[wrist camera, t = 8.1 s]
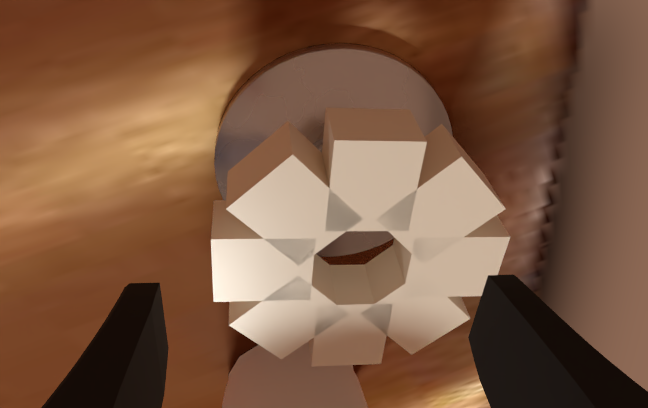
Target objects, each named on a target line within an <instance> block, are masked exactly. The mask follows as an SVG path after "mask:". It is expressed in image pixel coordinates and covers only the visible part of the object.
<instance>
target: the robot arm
mask: <svg viewBox="0 0 648 408" xmlns="http://www.w3.org/2000/svg"><path fill="white" fill-rule="evenodd" d="M469 341H470V345H471V349H472V353H473V357H474V361H475V365H476V368H477V372H478V375H479V379H480V381H481V384H482V386H483V389H484V391H485V394H486V396H487V399H488V401H489V404H490V406H491V408H648V392H647V391H646V390H645V389H643V388H642V387H641V386H639V385H638V384H637V383H635V382H634V381H633V380H632V379H631V378H629V377H628V376H627V375H626V374H624V373H623V372H622V371H621V370H620V369H618V368H617V367H616V366H615V365H613V364H612V363H611V362H610V361H609V360H607V359H606V358H605V357H604V356H603V355H602V354H600V353H599V352H598V351H597V350H596V349H594V348H593V347H592V346H591V345H590V344H589V343H588V342H587V341H585V340H584V339H583V338H582V337H581V336H580V335H579V334H578V333H576V332H575V331H574V330H573V329H572V328H571V327H570V326H569V325H568V324H567V323H565V322H564V321H563V320H562V319H561V318H560V317H559V316H558V315H557V314H556V313H555V312H554V311H552V309H550V308H549V307H548V306H547V305H546V304H545V303H544V302H543V301H542V300H541V299H540V298H539V297H538V296H537V295H536V294H535V293H533V292H532V291H531V290H530V289H529V288H528V287H527V286H526V285H525V284H524V283H523V282H522V281H520V280H519V279H518V278H517V277H516V276H515V275H488V277H487V280H486V284H485V287H484V290H483V293H482V296H481V299H480V303H479V306H478V309H477V312H476V315H475V318H474V322H473V325H472V328H471V331H470V334H469ZM167 358H168V342H167V335H166V327H165V320H164V312H163V305H162V297H161V290H160V283H130V284H128V285H127V286H126V287H125V288H124V290H123V292H122V293H121V295H120V297H119V299H118V300H117V302H116V304H115V305H114V307H113V309H112V310H111V312H110V314H109V315H108V317H107V318H106V320H105V322H104V323H103V325H102V326H101V328H100V329H99V331H98V332H97V334H96V335H95V337H94V338H93V340H92V341H91V343H90V344H89V345H88V347H87V348H86V350H85V351H84V353H83V354H82V355H81V357H80V358H79V360H78V361H77V363H76V364H75V365H74V367H73V368H72V369H71V371H70V372H69V373H68V375H67V376H66V377H65V378H64V380H63V381H62V382H61V384H60V385H59V386H58V387H57V389H56V390H55V391H54V393H53V394H52V395H51V396H50V398H49V399H48V400H47V401H46V403H45V404H44V405H43V406H42V408H161V407H162V402H163V397H164V390H165V380H166V369H167Z"/></svg>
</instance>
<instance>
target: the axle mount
mask: <svg viewBox="0 0 648 408" xmlns="http://www.w3.org/2000/svg"><path fill="white" fill-rule="evenodd" d="M326 108H367V109H409V110H411V112H412V114H413V116H414V118H415V120H416V122H417V124H418V126H419V128H420V129H421V131H422V133H423V135H424V137H425V136H426V135H428V134H429V133H430V132H432V131H433V130H434V129H436V128H437V127H438V126H440V125H441V124H443V126H444V127H445V128H446V129H447V130H448V132H449V133H450V134H451V135H452V128H451V124H450V121H449V117H448V114H447V112H446V110H445V108H444V105H443V103H442V101H441V100H440V98H439V97H438V95H437V94H436V92H435V91H434V89H433V88H432V86H431V85H430V83H429V82H428V81H427V80H426V79H425V78H424V77H423V76H422V75H421V74H420V72H418V71H417V70H416V69H415V68H413V67H412V66H411V65H410V64H408V63H407V62H405V61H403V60H402V59H400V58H398V57H396V56H395V55H393V54H390V53H388V52H385V51H383V50H380V49H377V48H373V47H369V46H364V45H358V44H348V43H335V44H323V45H317V46H311V47H307V48H304V49H300V50H297V51H294V52H291V53H289V54H287V55H285V56H282V57H280V58H278V59H276V60H275V61H273V62H271V63H269V64H268V65H266V66H264V67H263V68H262V69H261V70H259V71H258V72H257V73H255V74H254V75H253V76H252V77H251V78H250V79H249V80H248V81H247V82H246V83H245V84H244V85H243V86H242V87H241V88H240V89H239V90H238V92H237V93H236V95H235V96H234V97H233V99H232V100H231V101H230V103H229V105H228V107H227V109H226V111H225V113H224V114H223V117H222V120H221V123H220V126H219V128H218V134H217V139H216V146H215V164H214V165H215V174H216V180H217V183H218V187H219V191H220V193H221V195H222V198H223V200H226V195H227V176H228V171H229V170H230V169H231V168H233V167H234V166H235V165H236V164H237V163H239V162H240V161H241V160H242V159H243V158H245V157H246V156H247V155H248V154H249V153H250V152H252V151H253V150H254V149H255V148H256V147H258V146H259V145H260V144H261V143H262V142H263V141H265V140H266V139H267V138H268V137H269V136H271V135H272V134H273V133H274V132H275V131H276V130H278V129H279V128H280V127H281V126H282V125H284V124H285V123H286V122H287V121H289V122H290V123H291V124H292V125H293V126H295V127H296V128H297V129H298V130H299V131H300V132H301V133H302V134H303V135H304V136H305V137H306V138H307V139H308V140H309V141H310V142H311V143H312V144H313V145H314V146H315V147H316V148H317V149H318V150H319V151H320V152H322V146H323V135H324V124H325V112H326ZM392 239H394V236H393V235H391V234H390V233H389V232H388V231H346V232H345V233H343V234H342V235H341V236H339V237H338V238H336V239H335V240H334V241H332V242H331V243H330V244H328V245H327V246H325V247H324V248H323V249H321V250H320V251H319V252H317V253H316V254H317V255H318V256H319V257H332V256H343V255H349V254H355V253H358V252H362V251H366V250H369V249H372V248H374V247H377V246H380V245H382V244H384V243H386V242H388V241H390V240H392Z"/></svg>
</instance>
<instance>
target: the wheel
mask: <svg viewBox="0 0 648 408" xmlns="http://www.w3.org/2000/svg"><path fill="white" fill-rule="evenodd" d="M505 209H506V208H505V207H504V205H503V204H502V202H501V200H500V199H499V197H498V196H497V194H496V192H495V191H494V189H493V188H492V186H491V185H490V183H489V181H488V180H487V178H486V177H485V175H484V174H483V172H482V171H481V170H480V169H479V168H478V166H477V165H476V164H475V163H474V162H473V160H472V159H471V158H470V157H469V156H468V154H467V153H466V152H465V151H464V150H463V148H462V147H461V146H460V145H459V144H458V142H457V141H456V140H455V139H454V138H453V136H452V135H451V134H450V133H449V132H448V130H447V129H446V128H445V127H444V126H443V124H441V125H440V126H438V127H437V128H436V129H434V130H433V131H432V132H430V133H429V134H428V135H426V136H425V137H424V135H423V133H422V131H421V129H420V128H419V126H418V124H417V122H416V120H415V118H414V116H413V114H412V112H411V110H409V109H367V108H326V112H325V124H324V135H323V146H322V152H320V151H319V150H318V149H317V148H316V147H315V146H314V145H313V144H312V143H311V142H310V141H309V140H308V139H307V138H306V137H305V136H304V135H303V134H302V133H301V132H300V131H299V130H298V129H297V128H296V127H295V126H293V125H292V124H291V123H290V122H289V121H287V122H286V123H285V124H284V125H282V126H281V127H280V128H279V129H278V130H276V131H275V132H274V133H273V134H272V135H271V136H269V137H268V138H267V139H266V140H265V141H263V142H262V143H261V144H260V145H259V146H258V147H256V148H255V149H254V150H253V151H252V152H250V153H249V154H248V155H247V156H246V157H245V158H243V159H242V160H241V161H240V162H239V163H237V164H236V165H235V166H234V167H233V168H231V169H230V170H229V171H228V176H227V195H226V200H214V207H213V220H212V232H211V253H212V275H213V297H214V302H229V326H231V327H232V328H234V329H235V330H237V331H238V332H240V333H241V334H243V335H244V336H246V337H248V338H249V339H251V340H252V341H254V342H255V343H257V344H258V345H260V346H262V347H263V348H265V349H266V350H268V351H269V352H271V353H272V354H274V355H275V356H277V357H279V358H280V359H283V358H284V357H286V356H287V355H289V354H290V353H292V352H293V351H295V350H296V349H298V348H299V347H301V346H302V345H304V344H305V343H307V342H308V341H309V350H310V359H311V367H313V366H339V365H365V364H381V360H382V355H383V351H384V346H385V341H386V336H389V337H390V338H391V339H392V340H394V341H395V342H396V343H397V344H399V345H400V346H401V347H403V348H404V349H405V350H406V351H408V352H409V353H410V354H411V355H412V354H414V353H415V352H417V351H418V350H420V349H422V348H423V347H425V346H427V345H428V344H430V343H431V342H433V341H435V340H436V339H438V338H440V337H441V336H443V335H444V334H446V333H448V332H449V331H451V330H453V329H454V328H456V327H457V326H459V325H461V324H462V323H464V322H466V321H467V320H469V319H470V317H469V314H468V312H467V310H466V307H465V305H464V303H463V300H462V298H461V296H482V293H483V290H484V287H485V284H486V280H487V277H488V275H498V272H499V269H500V266H501V263H502V260H503V257H504V254H505V251H506V248H507V245H508V242H509V240H510V236H509V234H508V232H507V231H506V229H505V227H504V226H503V224H502V222H501V221H500V219H499V217H498V216H497V214H499V213H500V212H502V211H503V210H505ZM346 231H388V232H389V233H390V234H391V235H393V236H394V240H393V245H392V246H390V247H389V248H388V249H386V250H385V251H383V252H382V253H380V254H379V255H378V256H376V257H375V258H373V259H372V260H370V261H369V262H368V263H366V264H365V265H329V264H328V263H327V262H325V261H324V260H323V259H322V258H320V257H319V256H318V255H317V254H316V253H317V252H319V251H320V250H321V249H323V248H324V247H325V246H327V245H328V244H330V243H331V242H332V241H334V240H335V239H336V238H338V237H339V236H341V235H342V234H343V233H345V232H346Z"/></svg>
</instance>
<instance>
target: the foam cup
mask: <svg viewBox="0 0 648 408" xmlns="http://www.w3.org/2000/svg"><path fill="white" fill-rule="evenodd" d="M222 408H368V406H367V403H366V401H365V398H364V395H363V392H362V389H361V386H360V384H359V381H358V378H357V375H356V374H355V372H354V370H353V365H339V366H313V367H311V359H310V350H309V341H308V342H307V343H305V344H304V345H302V346H301V347H299V348H298V349H296V350H295V351H293V352H292V353H290V354H289V355H287V356H286V357H284V358H283V359H280V358H279V357H277V356H275V355H274V354H272V353H271V352H269V351H268V350H266V349H265V348H263V347H262V346H260V345H257V346H256V347H254V348H252V349H251V350H249V351H247V352H246V353H244V354H243V355H241V356H240V357H239V358H238V360H237V361H236V363H235V365H234V366H233V368H232V370H231V371H230V373H229V379H228V383H227V385H226V389H225V394H224V400H223V405H222Z"/></svg>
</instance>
